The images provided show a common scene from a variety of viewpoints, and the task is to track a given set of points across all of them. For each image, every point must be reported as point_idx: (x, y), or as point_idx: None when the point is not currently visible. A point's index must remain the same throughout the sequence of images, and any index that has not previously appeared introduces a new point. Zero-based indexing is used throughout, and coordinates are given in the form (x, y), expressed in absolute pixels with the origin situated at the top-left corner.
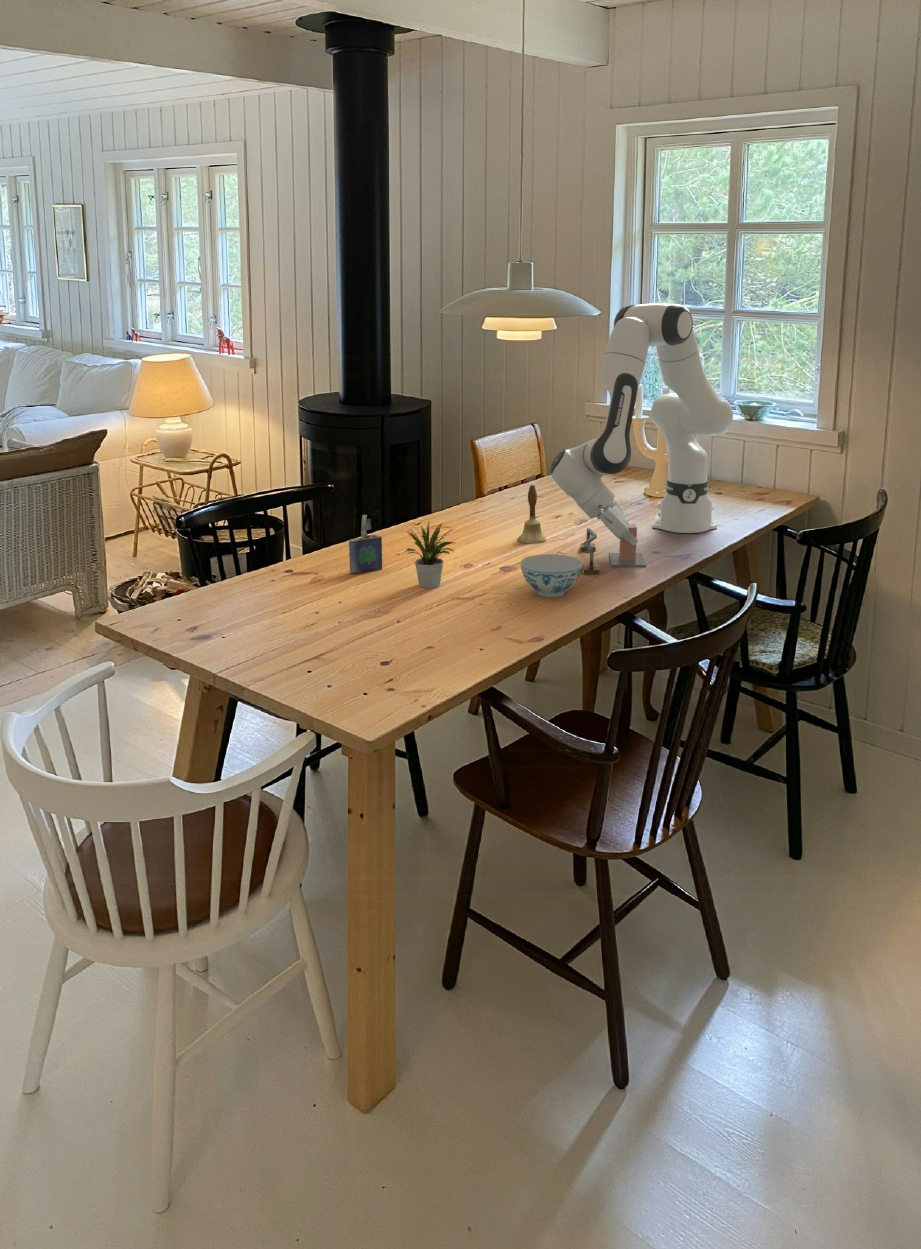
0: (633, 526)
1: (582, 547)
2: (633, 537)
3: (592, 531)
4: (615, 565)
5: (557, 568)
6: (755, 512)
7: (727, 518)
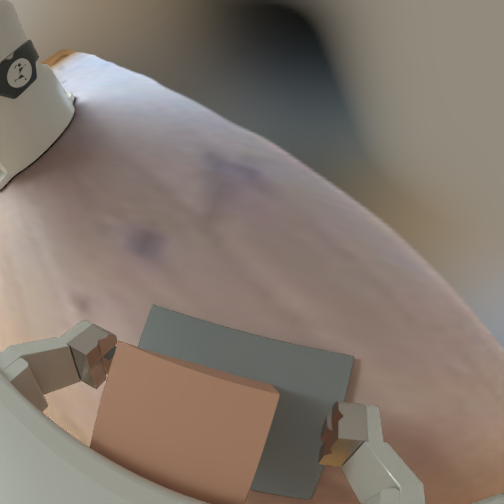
0: (212, 413)
1: None
2: (381, 443)
3: None
4: (315, 484)
5: None
6: (61, 70)
7: None
